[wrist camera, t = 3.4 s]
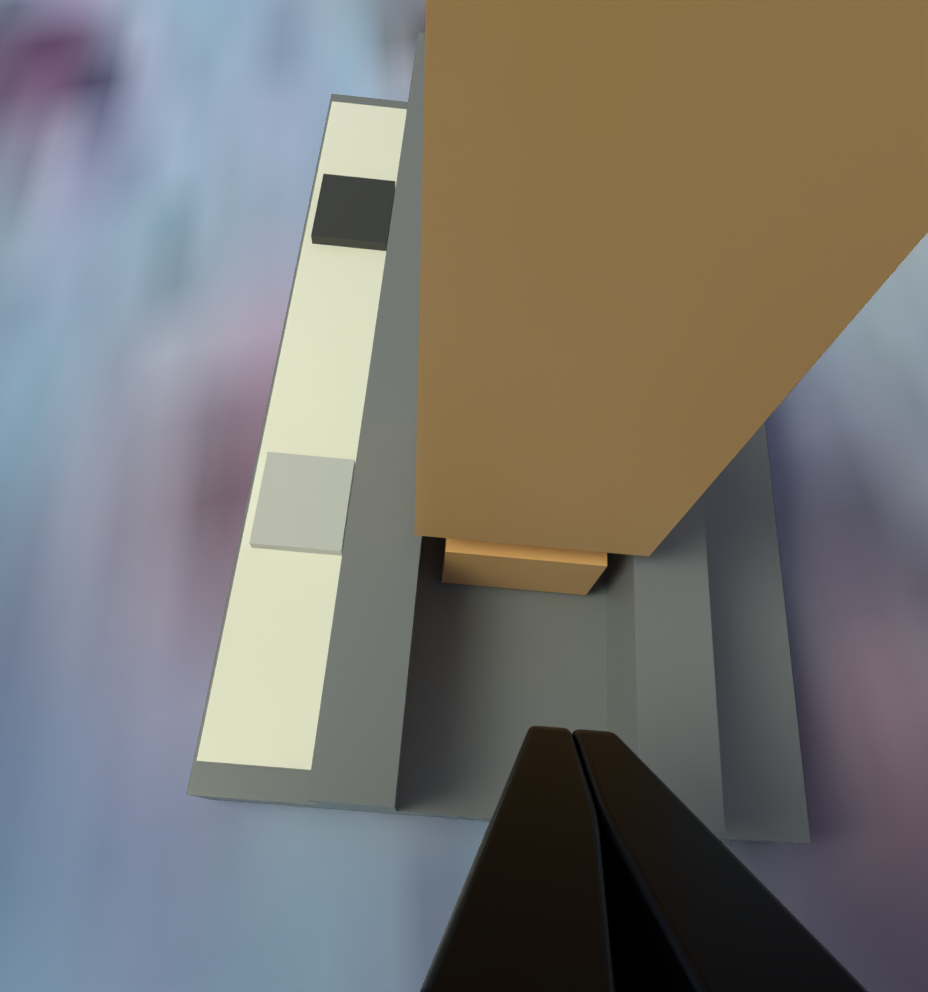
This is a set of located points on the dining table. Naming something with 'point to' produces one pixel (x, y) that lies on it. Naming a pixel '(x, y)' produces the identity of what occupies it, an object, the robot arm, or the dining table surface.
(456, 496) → the switch tab
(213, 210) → the dining table surface
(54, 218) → the dining table surface
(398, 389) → the switch housing
